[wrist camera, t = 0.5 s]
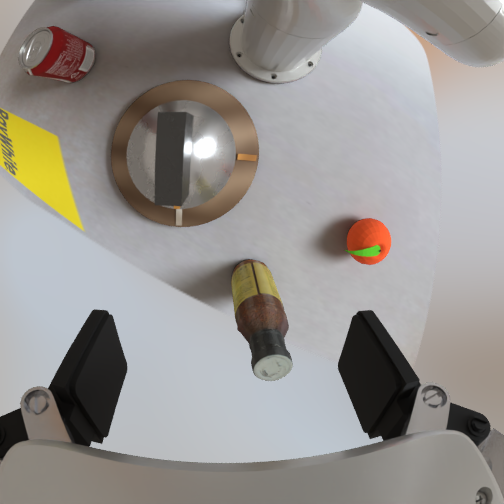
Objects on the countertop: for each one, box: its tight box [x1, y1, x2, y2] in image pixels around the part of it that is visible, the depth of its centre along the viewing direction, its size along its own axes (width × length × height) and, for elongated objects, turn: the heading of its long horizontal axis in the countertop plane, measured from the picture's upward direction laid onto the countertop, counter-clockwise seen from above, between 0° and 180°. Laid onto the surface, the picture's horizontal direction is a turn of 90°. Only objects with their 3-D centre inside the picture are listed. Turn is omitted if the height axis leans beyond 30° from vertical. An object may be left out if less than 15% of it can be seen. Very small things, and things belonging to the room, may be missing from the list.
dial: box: [127, 100, 236, 209], centre depth 30 cm, size 14×14×7 cm
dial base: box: [111, 80, 259, 227], centre depth 35 cm, size 20×20×2 cm
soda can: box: [18, 26, 95, 83], centre depth 22 cm, size 7×7×12 cm
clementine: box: [345, 218, 391, 265], centre depth 39 cm, size 8×7×7 cm
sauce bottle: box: [231, 259, 293, 381], centre depth 35 cm, size 7×6×20 cm
